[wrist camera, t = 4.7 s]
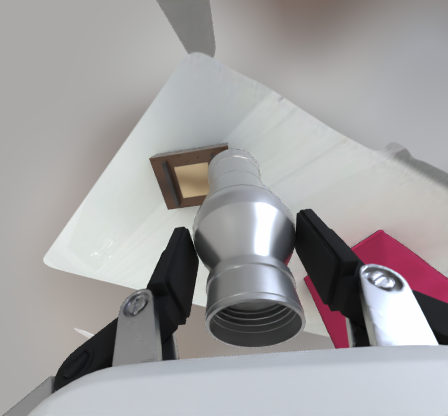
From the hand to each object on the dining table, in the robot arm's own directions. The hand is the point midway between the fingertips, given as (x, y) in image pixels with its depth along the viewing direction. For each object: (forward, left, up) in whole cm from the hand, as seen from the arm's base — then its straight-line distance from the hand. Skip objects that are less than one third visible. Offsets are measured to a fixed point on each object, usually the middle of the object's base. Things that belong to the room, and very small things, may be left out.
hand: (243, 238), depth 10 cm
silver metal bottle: (0, 0, -15) cm, 15 cm away
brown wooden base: (+4, -8, -30) cm, 31 cm away
